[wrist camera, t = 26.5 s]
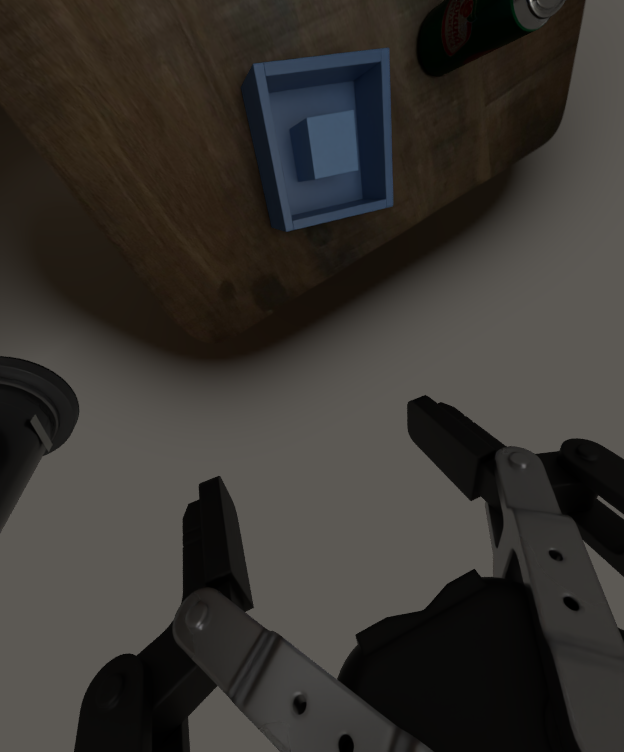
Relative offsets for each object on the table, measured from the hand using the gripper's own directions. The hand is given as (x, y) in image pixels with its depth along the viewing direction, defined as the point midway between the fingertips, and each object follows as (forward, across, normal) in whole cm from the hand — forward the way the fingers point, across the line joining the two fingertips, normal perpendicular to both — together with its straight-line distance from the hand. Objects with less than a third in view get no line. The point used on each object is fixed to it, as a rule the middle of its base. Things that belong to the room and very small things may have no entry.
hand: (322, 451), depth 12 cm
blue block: (+27, -12, -11) cm, 32 cm away
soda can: (+28, -27, -18) cm, 43 cm away
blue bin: (+28, -12, -11) cm, 32 cm away
